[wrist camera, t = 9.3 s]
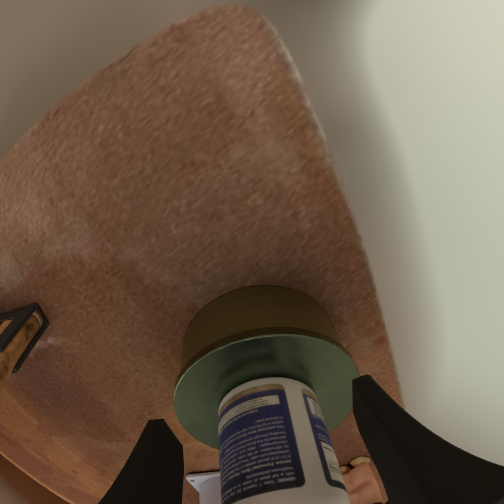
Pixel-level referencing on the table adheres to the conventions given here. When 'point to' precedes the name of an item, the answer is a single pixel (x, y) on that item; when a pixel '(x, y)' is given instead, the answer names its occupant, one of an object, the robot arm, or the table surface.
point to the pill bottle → (276, 446)
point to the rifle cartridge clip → (18, 337)
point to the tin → (260, 355)
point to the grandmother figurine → (361, 482)
